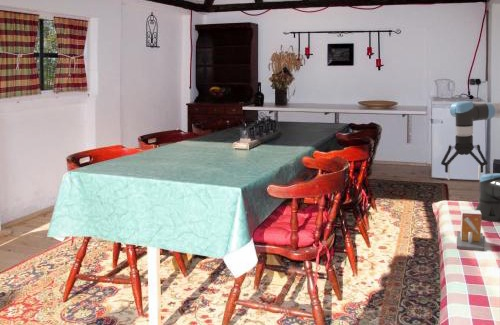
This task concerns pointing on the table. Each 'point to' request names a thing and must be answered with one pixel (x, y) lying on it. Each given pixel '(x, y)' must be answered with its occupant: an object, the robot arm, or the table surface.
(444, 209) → the table surface
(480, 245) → the pin tray
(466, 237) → the small box
